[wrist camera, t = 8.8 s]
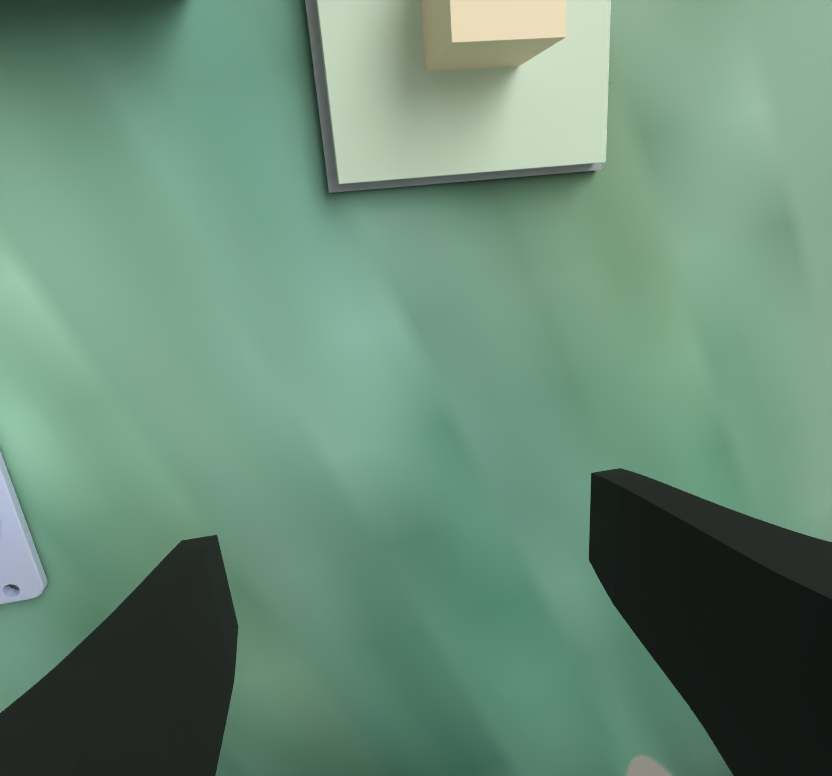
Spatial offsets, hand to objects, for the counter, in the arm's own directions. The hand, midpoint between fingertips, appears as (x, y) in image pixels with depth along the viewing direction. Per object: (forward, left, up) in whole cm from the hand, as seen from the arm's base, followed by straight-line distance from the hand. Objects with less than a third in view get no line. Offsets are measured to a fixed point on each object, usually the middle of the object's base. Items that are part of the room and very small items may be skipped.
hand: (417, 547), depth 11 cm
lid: (+4, +11, -10) cm, 15 cm away
